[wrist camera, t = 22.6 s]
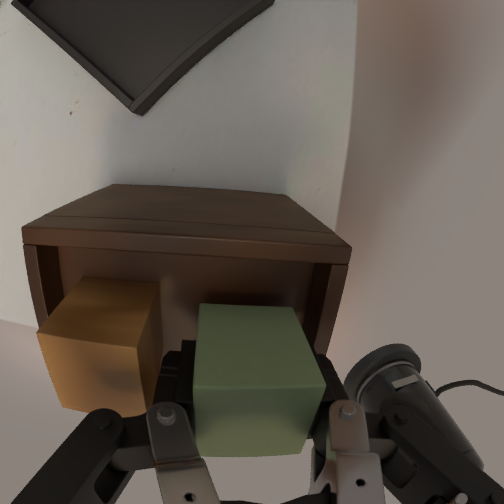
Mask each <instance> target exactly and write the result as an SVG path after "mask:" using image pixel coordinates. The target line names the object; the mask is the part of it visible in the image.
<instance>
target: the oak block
mask: <svg viewBox="0 0 504 504" xmlns="http://www.w3.org/2000/svg"><path fill="white" fill-rule="evenodd" d="M36 334H37V337H38V341H39V344H40V347H41V351H42V354H43V357H44V360H45V363H46V366H47V369H48V371H49V374H50V377H51V380H52V382H53V385H54V387H55V390H56V393H57V395H58V398H59V400H60V402H61V405H62V407H65V408H69V409H73V410H77V411H82V412H86V413H90V412H91V411H93V410H96V409H100V408H108V409H112V410H114V411H116V412H117V413H119V414H120V415H121V417H122V418H123V417H131V416H138V415H141V414H143V413H145V412H147V410H148V409H149V408H150V407H151V406H152V403H153V398H154V393H155V388H156V383H157V378H158V373H159V368H160V363H161V358H162V354H163V341H162V324H161V300H160V283H151V282H138V281H126V280H114V279H103V278H92V277H82V278H81V280H80V281H79V282H78V283H77V284H76V285H75V286H74V287H73V289H72V290H71V291H70V292H69V293H68V294H67V295H66V297H65V298H64V299H63V300H62V301H61V303H60V304H59V305H58V306H57V307H56V308H55V310H54V311H53V312H52V313H51V315H50V316H49V317H48V318H47V319H46V321H45V322H44V323H43V324H42V326H41V327H40V328H39V329H38V331H37V333H36Z"/></svg>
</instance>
